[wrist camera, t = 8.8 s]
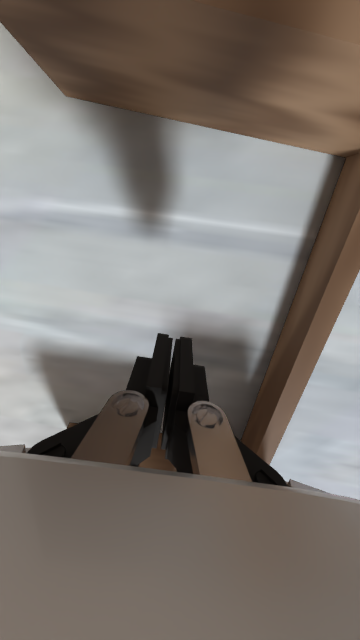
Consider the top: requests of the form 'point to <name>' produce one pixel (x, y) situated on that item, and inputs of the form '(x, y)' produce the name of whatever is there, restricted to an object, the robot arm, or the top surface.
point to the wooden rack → (230, 124)
